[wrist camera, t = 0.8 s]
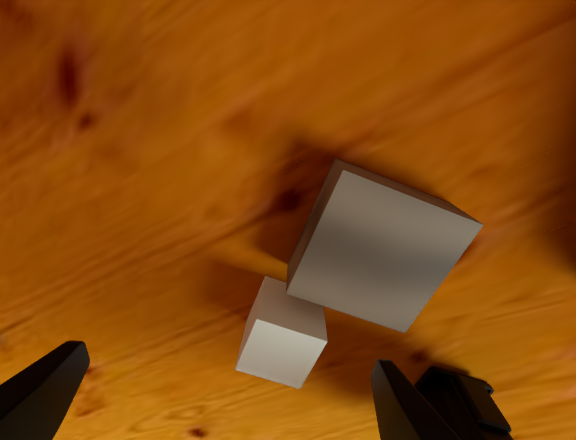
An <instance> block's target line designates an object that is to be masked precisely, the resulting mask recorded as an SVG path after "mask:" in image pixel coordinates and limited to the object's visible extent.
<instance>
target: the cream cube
mask: <svg viewBox="0 0 576 440" xmlns="http://www.w3.org/2000/svg"><path fill="white" fill-rule="evenodd" d="M327 342H328V340H327V331H326V323H325V315H324V307H323V306H322V305H319V304H316V303H313V302H310V301H307V300H304V299H301V298H298V297H295V296H292V295H289V294H286V283H285V282H282V281H280V280H277V279H274V278H271V277H268V276H265V277H264V280H263V282H262V284H261V287H260V289H259V292H258V294H257V297H256V299H255V301H254V304H253V306H252V309H251V311H250V314H249V316H248V318H247V321H246V325H245V329H244V334H243V338H242V342H241V346H240V350H239V354H238V359H237V363H236V367H235V370H237V371H241V372H244V373H247V374H251V375H254V376H258V377H261V378H264V379H268V380H271V381H274V382H278V383H281V384H285V385H288V386H291V387H295V388H298V389H300V388H301V386H302V385H303V383H304V381H305V380H306V378H307V376H308V374H309V373H310V371H311V369H312V368H313V366H314V364H315V363H316V361H317V359H318V357H319V356H320V354H321V352H322V351H323V349H324V347H325V345H326V344H327Z"/></svg>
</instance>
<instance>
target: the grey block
mask: <svg viewBox="0 0 576 440" xmlns="http://www.w3.org/2000/svg"><path fill="white" fill-rule="evenodd" d="M482 226H483V224H482V223H480V222H479V221H477V220H476V219H474V218H472V217H471V216H469V215H468V214H466V213H465V212H463V211H462V210H460V209H459V208H457V207H456V206H454V205H453V204H451V203H448V202H446V201H443V200H441V199H438V198H436V197H433V196H431V195H428V194H426V193H423V192H421V191H418V190H416V189H413V188H411V187H408V186H406V185H403V184H401V183H398V182H396V181H393V180H391V179H388V178H385V177H383V176H380V175H378V174H375V173H373V172H370V171H368V170H365V169H363V168H360V167H358V166H355V165H353V164H350V163H348V162H345V161H343V160H340V159H338V158H335V159H334V161H333V164H332V166H331V168H330V170H329V173H328V175H327V177H326V179H325V182H324V184H323V186H322V188H321V191H320V193H319V195H318V197H317V200H316V202H315V204H314V206H313V209H312V211H311V213H310V215H309V218H308V220H307V222H306V224H305V227H304V229H303V231H302V233H301V236H300V238H299V240H298V242H297V245H296V247H295V249H294V251H293V254H292V256H291V258H290V261H289V263H288V268H287V283H286V294H289V295H292V296H295V297H298V298H301V299H304V300H307V301H310V302H313V303H316V304H319V305H322V306H325V307H328V308H331V309H334V310H337V311H340V312H343V313H346V314H349V315H352V316H355V317H358V318H361V319H364V320H367V321H370V322H373V323H376V324H379V325H382V326H385V327H388V328H391V329H394V330H397V331H400V332H403V333H405V332H406V331H407V330H408V328H409V327H410V325H411V324H412V323H413V321H414V320H415V319H416V317H417V316H418V314H419V313H420V312H421V310H422V309H423V308H424V306H425V305H426V303H427V302H428V301H429V299H430V298H431V297H432V295H433V294H434V292H435V291H436V290H437V288H438V287H439V286H440V284H441V283H442V281H443V280H444V279H445V277H446V276H447V275H448V273H449V272H450V270H451V269H452V268H453V266H454V265H455V264H456V262H457V261H458V259H459V258H460V257H461V255H462V254H463V253H464V251H465V250H466V248H467V247H468V246H469V244H470V243H471V242H472V240H473V239H474V237H475V236H476V235H477V233H478V232H479V231H480V229H481V228H482Z"/></svg>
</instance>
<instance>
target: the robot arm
mask: <svg viewBox="0 0 576 440" xmlns="http://www.w3.org/2000/svg"><path fill="white" fill-rule="evenodd" d="M89 363H90V358H89V355H88V351H87V348H86V345H85V343H84V342H83V341H73V340H71V341H67V342H65V343H63V344H62V345H60V346H59V347H57V348H56V349H54V350H53V351H51V352H50V353H48V354H47V355H45V356H44V357H42V358H41V359H39V360H37V361H36V362H34V363H33V364H31V365H30V366H28V367H27V368H25V369H24V370H22V371H21V372H19V373H18V374H16V375H15V376H13V377H12V378H10V379H9V380H7V381H6V382H4V383H2V384H1V385H0V440H52V439H53V437H54V436H55V434H56V432H57V430H58V429H59V427H60V425H61V423H62V421H63V419H64V417H65V415H66V413H67V411H68V409H69V407H70V405H71V403H72V401H73V399H74V396H75V394H76V392H77V390H78V388H79V386H80V384H81V382H82V380H83V377H84V375H85V373H86V371H87V369H88V367H89ZM371 386H372V392H373V398H374V404H375V410H376V416H377V422H378V428H379V433H380V438H381V440H513V438H512V437H511V435H510V434H509V433H510V432H511V427H510V425H509V424H508V422H507V421H506V419H505V418H504V416H503V415H502V413H501V411H500V410H499V408H498V407H497V405H496V404H495V402H494V401H493V399H492V398H491V396H490V395H491V394H492V393H493V392H494V390H493V388H492V387H491V385H490V384H487V383H484V382H481V381H478V380H475V379H472V378H469V377H465V376H462V375H459V374H456V373H453V372H450V371H447V370H444V369H441V368H438V367H432V368H430V369H429V370H428V371H427V372H426V374H425V375H424V376H423V377H422V378H421V380H420V381H419V382H418V383H417V384H416V386H415V387H414V386H413V385H412V384H411V382H410V381H409V380H408V379H407V378H406V377H405V376H404V374H403V373H402V372H401V371H400V370H399V369H398V368H397V366H396V365H395V364H394V363H393V362H392V361H391V360H386V359H378V360H377V362H376V364H375V367H374V369H373V372H372V375H371Z"/></svg>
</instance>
